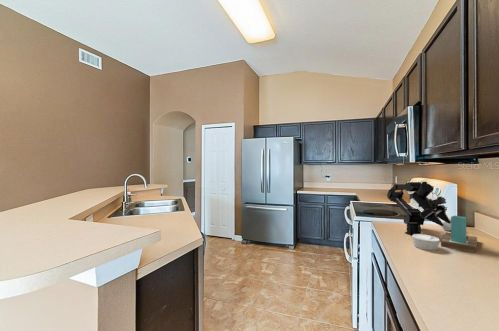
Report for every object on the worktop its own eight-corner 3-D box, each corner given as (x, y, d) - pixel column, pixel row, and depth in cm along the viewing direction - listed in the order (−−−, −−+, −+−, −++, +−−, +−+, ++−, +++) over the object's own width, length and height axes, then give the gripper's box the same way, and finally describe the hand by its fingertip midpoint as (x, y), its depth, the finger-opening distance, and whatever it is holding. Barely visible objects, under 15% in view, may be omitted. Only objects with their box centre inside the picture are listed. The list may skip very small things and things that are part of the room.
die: (454, 234, 144) (463, 221, 144) (438, 225, 148) (447, 213, 149) (450, 235, 151) (458, 223, 151) (435, 227, 155) (443, 215, 156)
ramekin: (444, 252, 114) (444, 241, 114) (418, 250, 116) (418, 240, 116) (432, 244, 125) (432, 234, 125) (408, 243, 127) (408, 233, 127)
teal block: (462, 243, 118) (462, 218, 118) (451, 240, 122) (451, 216, 122) (466, 241, 120) (466, 217, 120) (455, 239, 124) (455, 215, 124)
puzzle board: (476, 252, 113) (476, 247, 113) (441, 246, 122) (441, 241, 122) (477, 241, 128) (477, 236, 128) (446, 236, 137) (445, 232, 137)
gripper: (426, 193, 125) (452, 218, 116) (441, 190, 135) (467, 213, 126) (410, 205, 132) (433, 230, 123) (425, 202, 142) (448, 225, 133)
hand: (446, 224), depth 126 cm, fingers open, 9 cm apart
